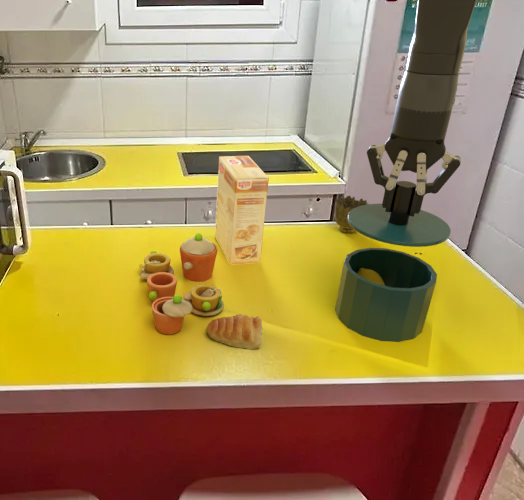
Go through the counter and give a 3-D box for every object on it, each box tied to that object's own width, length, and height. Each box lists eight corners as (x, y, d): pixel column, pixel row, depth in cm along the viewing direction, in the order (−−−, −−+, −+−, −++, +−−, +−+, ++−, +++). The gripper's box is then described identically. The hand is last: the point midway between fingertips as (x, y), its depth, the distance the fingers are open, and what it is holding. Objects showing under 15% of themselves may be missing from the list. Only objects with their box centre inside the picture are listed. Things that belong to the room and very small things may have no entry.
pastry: (204, 346, 85) (205, 327, 83) (207, 323, 91) (208, 304, 89) (262, 351, 84) (264, 332, 82) (261, 327, 90) (263, 309, 88)
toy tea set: (137, 265, 109) (136, 223, 105) (210, 262, 111) (212, 220, 106) (146, 342, 86) (145, 292, 82) (237, 336, 88) (241, 287, 83)
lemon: (383, 305, 95) (368, 264, 96) (398, 304, 90) (381, 261, 91) (356, 315, 95) (341, 274, 96) (369, 315, 89) (352, 271, 90)
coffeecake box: (261, 265, 110) (270, 177, 101) (228, 267, 109) (234, 178, 100) (243, 234, 123) (249, 154, 114) (213, 236, 122) (217, 155, 113)
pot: (425, 309, 95) (439, 259, 91) (418, 354, 84) (433, 299, 79) (344, 289, 101) (353, 241, 96) (327, 329, 90) (336, 276, 85)
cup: (368, 232, 124) (374, 201, 121) (353, 242, 120) (359, 210, 116) (339, 223, 129) (344, 193, 125) (324, 232, 124) (329, 201, 120)
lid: (450, 220, 88) (462, 177, 84) (446, 259, 76) (460, 210, 72) (356, 203, 94) (363, 162, 91) (337, 237, 82) (345, 191, 78)
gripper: (370, 103, 76) (350, 212, 84) (478, 114, 70) (446, 230, 78) (377, 94, 81) (359, 197, 89) (478, 103, 76) (449, 212, 84)
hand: (400, 212), depth 84 cm, fingers closed on lid, 3 cm apart
